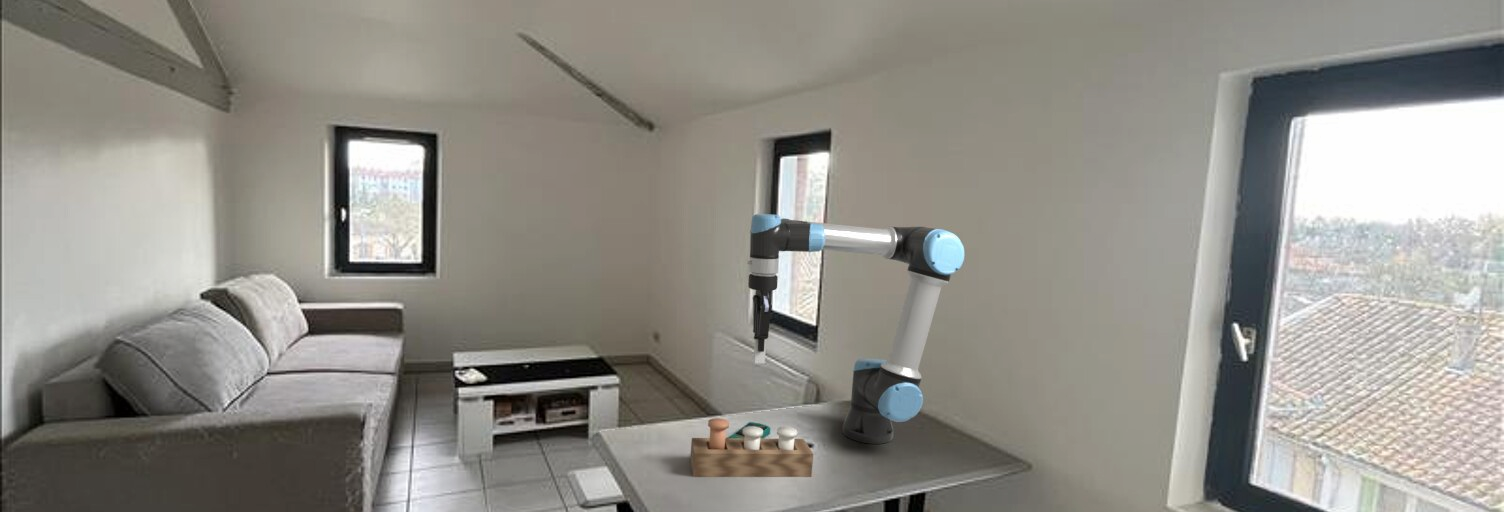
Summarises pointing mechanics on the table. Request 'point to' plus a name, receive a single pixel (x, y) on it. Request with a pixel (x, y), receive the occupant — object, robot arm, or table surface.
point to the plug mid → (752, 437)
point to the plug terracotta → (717, 433)
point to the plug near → (786, 438)
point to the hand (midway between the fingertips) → (759, 362)
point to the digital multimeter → (765, 428)
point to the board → (750, 459)
